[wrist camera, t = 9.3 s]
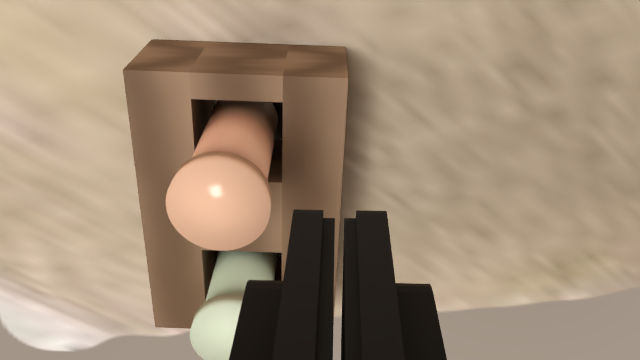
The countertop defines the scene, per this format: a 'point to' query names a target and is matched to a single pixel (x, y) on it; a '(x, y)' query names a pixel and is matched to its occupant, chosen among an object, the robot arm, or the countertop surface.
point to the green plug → (227, 300)
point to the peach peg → (226, 178)
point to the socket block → (187, 128)
